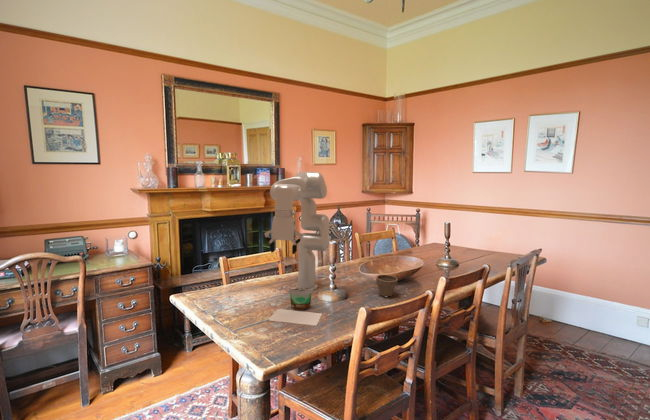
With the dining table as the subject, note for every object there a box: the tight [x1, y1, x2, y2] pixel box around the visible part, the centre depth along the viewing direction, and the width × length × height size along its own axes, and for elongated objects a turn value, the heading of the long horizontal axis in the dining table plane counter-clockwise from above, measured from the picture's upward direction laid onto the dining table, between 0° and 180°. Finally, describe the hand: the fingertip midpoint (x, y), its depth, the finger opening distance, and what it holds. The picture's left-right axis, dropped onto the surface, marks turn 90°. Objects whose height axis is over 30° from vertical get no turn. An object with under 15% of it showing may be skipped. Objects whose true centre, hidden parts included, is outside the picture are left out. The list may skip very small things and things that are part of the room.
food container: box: [288, 287, 314, 311], centre depth 175 cm, size 12×6×10 cm, turn 105°
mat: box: [268, 308, 323, 327], centre depth 165 cm, size 13×22×1 cm, turn 79°
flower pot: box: [375, 274, 399, 297], centre depth 196 cm, size 12×11×10 cm
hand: (283, 252), depth 158 cm, fingers open, 9 cm apart
